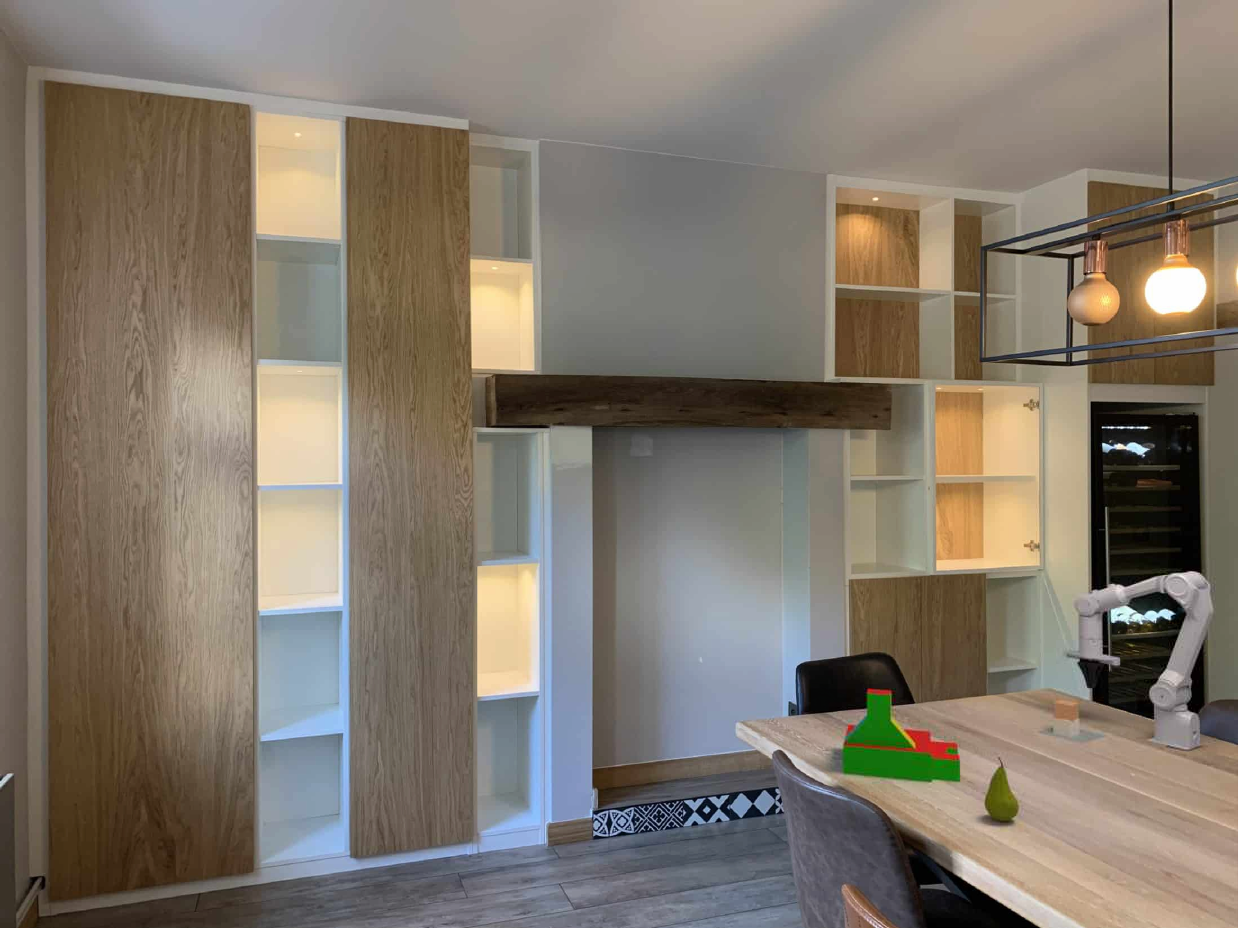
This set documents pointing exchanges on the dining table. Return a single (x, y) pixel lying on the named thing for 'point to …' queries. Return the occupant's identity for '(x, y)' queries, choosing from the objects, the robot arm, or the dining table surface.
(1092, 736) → the grey square plate
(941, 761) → the building blocks toy
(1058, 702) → the terracotta block
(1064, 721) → the cream block
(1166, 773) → the dining table surface
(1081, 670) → the robot arm
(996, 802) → the fruit
